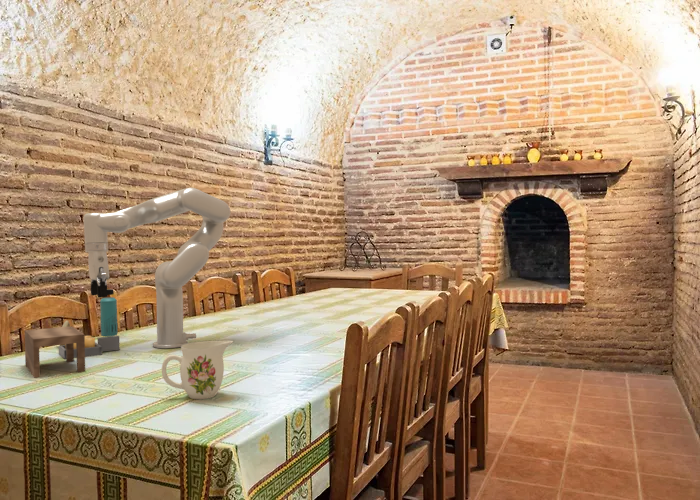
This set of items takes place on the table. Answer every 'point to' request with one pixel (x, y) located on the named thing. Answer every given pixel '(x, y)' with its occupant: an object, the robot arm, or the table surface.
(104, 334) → the beverage bottle
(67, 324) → the chocolate bunny
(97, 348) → the tray
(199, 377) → the pitcher
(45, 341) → the brown wooden footstool
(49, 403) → the table surface
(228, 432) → the table surface
